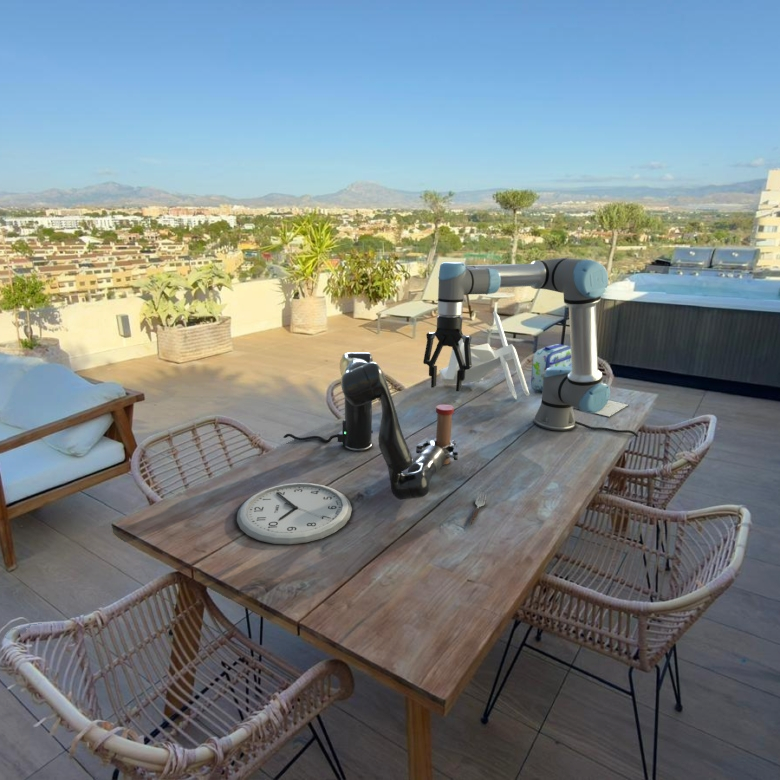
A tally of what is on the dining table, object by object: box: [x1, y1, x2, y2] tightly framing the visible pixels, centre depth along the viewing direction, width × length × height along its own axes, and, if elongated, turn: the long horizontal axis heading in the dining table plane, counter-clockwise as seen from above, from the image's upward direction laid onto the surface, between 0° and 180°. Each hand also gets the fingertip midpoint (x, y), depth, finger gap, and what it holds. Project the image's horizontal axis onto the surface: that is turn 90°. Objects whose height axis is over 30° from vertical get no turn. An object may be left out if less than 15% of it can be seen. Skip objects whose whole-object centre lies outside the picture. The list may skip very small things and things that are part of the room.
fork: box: [469, 491, 487, 526], centre depth 140 cm, size 3×16×2 cm, turn 160°
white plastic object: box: [438, 310, 531, 400], centre depth 245 cm, size 37×45×31 cm
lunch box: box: [530, 343, 572, 392], centre depth 248 cm, size 26×11×21 cm, turn 134°
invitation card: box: [573, 399, 629, 418], centre depth 226 cm, size 21×1×15 cm
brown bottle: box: [435, 413, 453, 466], centre depth 168 cm, size 5×5×18 cm
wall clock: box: [236, 482, 353, 545], centre depth 139 cm, size 30×2×30 cm
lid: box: [435, 403, 455, 415], centre depth 165 cm, size 6×6×2 cm
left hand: (445, 441), depth 171 cm, fingers closed on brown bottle, 4 cm apart
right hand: (446, 388), depth 163 cm, fingers open, 7 cm apart
